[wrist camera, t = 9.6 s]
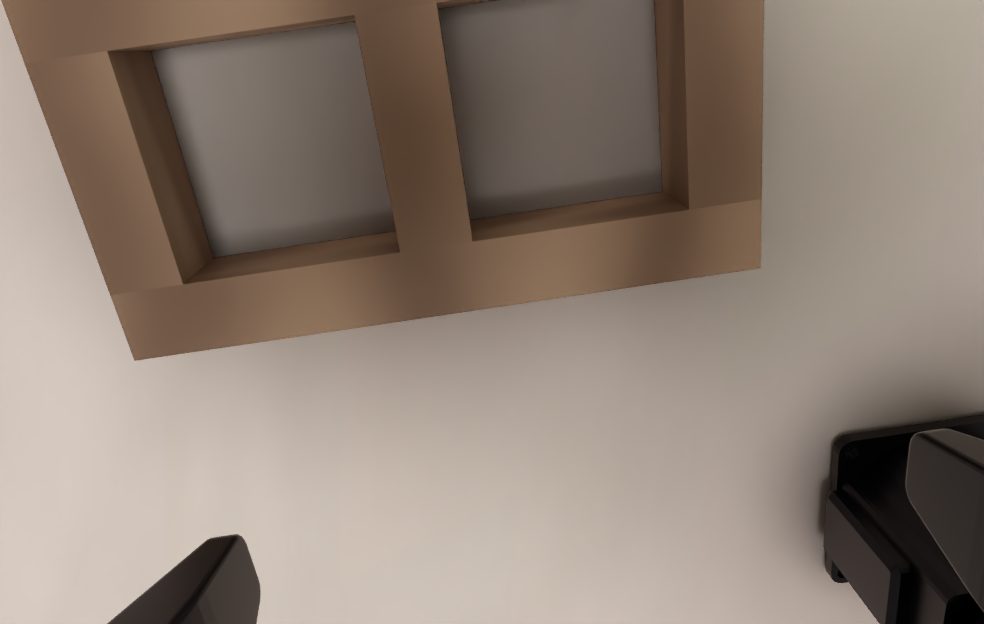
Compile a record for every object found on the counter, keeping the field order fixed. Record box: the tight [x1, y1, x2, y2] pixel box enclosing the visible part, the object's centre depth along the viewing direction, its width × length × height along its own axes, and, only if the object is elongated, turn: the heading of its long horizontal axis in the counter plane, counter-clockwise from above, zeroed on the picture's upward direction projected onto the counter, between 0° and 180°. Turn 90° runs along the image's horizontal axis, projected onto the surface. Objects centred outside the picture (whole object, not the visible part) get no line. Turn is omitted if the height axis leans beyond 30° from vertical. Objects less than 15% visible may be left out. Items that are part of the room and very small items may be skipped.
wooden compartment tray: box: [1, 0, 764, 360], centre depth 18 cm, size 18×10×2 cm, turn 98°
